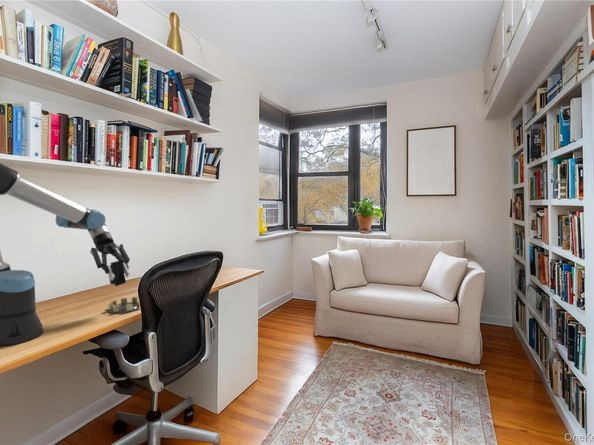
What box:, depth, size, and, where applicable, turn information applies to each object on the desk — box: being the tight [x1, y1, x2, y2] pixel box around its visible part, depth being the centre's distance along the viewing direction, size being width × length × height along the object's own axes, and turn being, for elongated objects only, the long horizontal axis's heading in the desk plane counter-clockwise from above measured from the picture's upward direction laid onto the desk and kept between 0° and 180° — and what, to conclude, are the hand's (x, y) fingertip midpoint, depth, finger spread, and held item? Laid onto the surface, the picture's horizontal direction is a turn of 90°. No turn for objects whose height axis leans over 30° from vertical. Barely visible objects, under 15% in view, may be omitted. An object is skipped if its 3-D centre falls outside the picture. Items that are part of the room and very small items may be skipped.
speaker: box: [108, 260, 127, 287], centre depth 144 cm, size 8×6×10 cm
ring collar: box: [107, 296, 141, 315], centre depth 148 cm, size 15×15×3 cm
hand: (120, 276), depth 142 cm, fingers closed on speaker, 6 cm apart
